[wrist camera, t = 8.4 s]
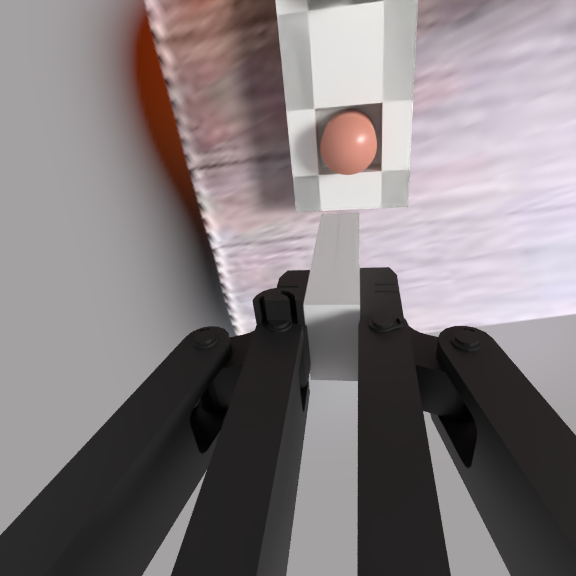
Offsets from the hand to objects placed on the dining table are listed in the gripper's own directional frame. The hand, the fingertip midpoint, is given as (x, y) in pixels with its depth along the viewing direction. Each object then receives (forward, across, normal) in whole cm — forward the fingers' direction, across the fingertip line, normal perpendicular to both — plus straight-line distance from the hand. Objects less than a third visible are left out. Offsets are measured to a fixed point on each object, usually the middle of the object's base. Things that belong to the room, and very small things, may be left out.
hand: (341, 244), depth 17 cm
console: (+24, 0, +6) cm, 25 cm away
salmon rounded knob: (+22, 0, 0) cm, 22 cm away
